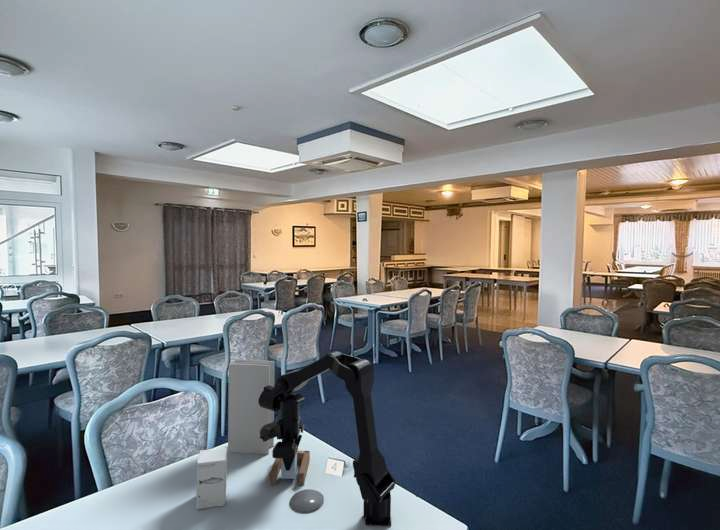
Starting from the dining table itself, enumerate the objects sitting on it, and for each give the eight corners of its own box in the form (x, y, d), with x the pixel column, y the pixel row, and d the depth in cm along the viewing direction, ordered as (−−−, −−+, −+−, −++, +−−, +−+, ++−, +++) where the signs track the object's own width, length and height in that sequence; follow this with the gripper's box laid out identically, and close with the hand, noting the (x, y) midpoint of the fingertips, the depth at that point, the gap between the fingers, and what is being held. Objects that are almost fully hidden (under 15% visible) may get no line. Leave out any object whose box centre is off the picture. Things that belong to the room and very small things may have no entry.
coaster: (325, 491, 111) (325, 489, 111) (322, 512, 102) (322, 510, 102) (293, 491, 111) (293, 489, 111) (287, 512, 102) (287, 509, 102)
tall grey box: (273, 446, 137) (274, 361, 136) (268, 454, 131) (269, 365, 130) (234, 443, 138) (235, 359, 137) (228, 451, 132) (228, 363, 132)
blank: (296, 471, 119) (297, 445, 119) (294, 478, 115) (294, 451, 115) (283, 470, 119) (283, 444, 119) (281, 478, 115) (281, 451, 115)
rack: (309, 461, 127) (309, 450, 127) (303, 485, 114) (304, 473, 114) (278, 460, 127) (278, 450, 127) (269, 484, 114) (269, 472, 114)
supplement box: (195, 510, 102) (195, 463, 102) (199, 493, 109) (199, 449, 109) (225, 506, 104) (225, 459, 104) (227, 490, 111) (227, 446, 111)
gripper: (269, 402, 126) (269, 450, 126) (254, 428, 107) (253, 484, 108) (304, 403, 126) (304, 450, 126) (294, 428, 107) (294, 484, 108)
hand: (289, 466), depth 117 cm, fingers closed on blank, 4 cm apart
